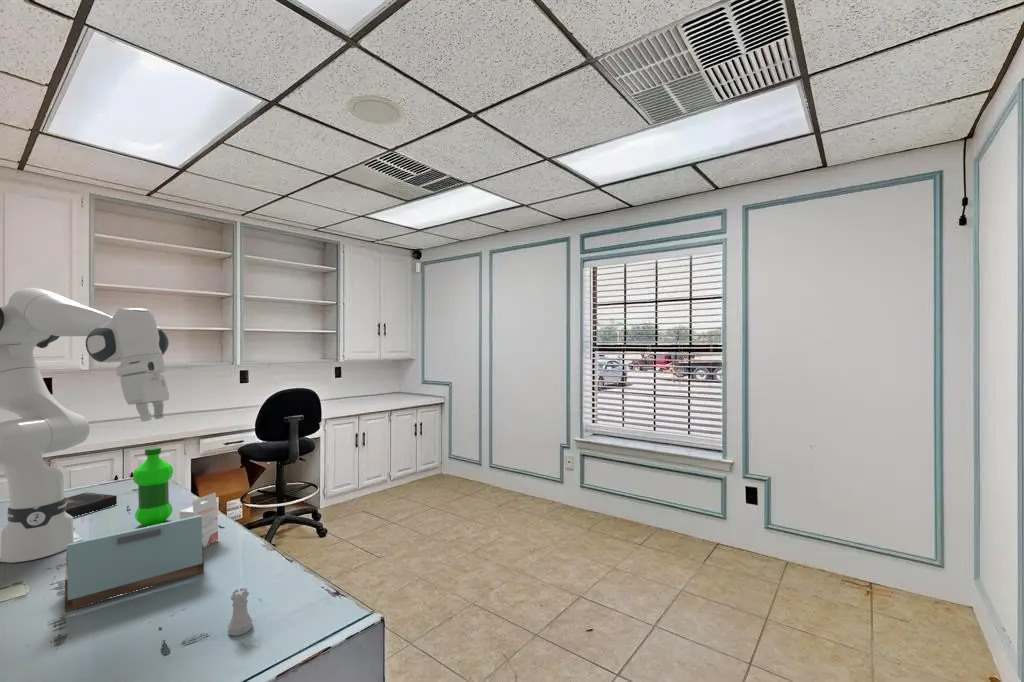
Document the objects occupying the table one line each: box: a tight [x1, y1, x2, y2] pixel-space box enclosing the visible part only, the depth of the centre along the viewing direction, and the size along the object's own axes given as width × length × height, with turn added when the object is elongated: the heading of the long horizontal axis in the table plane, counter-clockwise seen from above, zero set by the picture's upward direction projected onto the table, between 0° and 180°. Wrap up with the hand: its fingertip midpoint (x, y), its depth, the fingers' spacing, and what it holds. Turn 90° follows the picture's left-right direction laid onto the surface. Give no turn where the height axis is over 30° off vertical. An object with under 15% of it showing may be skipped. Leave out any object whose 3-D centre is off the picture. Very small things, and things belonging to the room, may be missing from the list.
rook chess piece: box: [227, 587, 254, 637], centre depth 96 cm, size 4×4×8 cm
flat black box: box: [65, 492, 118, 517], centre depth 170 cm, size 16×17×4 cm
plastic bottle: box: [132, 446, 174, 527], centre depth 156 cm, size 10×10×25 cm
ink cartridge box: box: [179, 492, 219, 548], centre depth 138 cm, size 9×5×15 cm, turn 168°
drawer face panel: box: [66, 515, 202, 600], centre depth 112 cm, size 2×25×12 cm, turn 132°
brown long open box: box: [64, 544, 205, 613], centre depth 117 cm, size 12×26×10 cm, turn 132°
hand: (153, 419), depth 123 cm, fingers open, 8 cm apart
